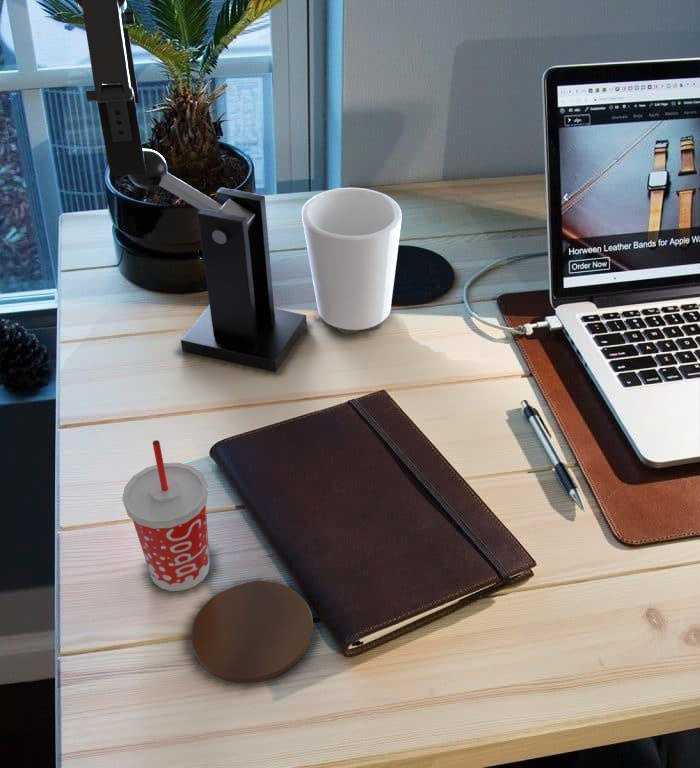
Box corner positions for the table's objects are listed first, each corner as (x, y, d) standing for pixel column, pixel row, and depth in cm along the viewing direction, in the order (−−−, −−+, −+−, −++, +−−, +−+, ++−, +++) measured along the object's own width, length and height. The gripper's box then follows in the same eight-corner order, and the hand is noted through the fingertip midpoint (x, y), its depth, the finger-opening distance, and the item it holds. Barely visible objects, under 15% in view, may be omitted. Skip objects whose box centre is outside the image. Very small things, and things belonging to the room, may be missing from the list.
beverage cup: (142, 606, 81) (112, 479, 72) (137, 547, 85) (109, 421, 76) (223, 590, 82) (204, 464, 73) (215, 533, 87) (195, 408, 78)
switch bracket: (182, 351, 104) (160, 215, 94) (217, 307, 110) (201, 174, 100) (276, 372, 103) (264, 236, 93) (306, 326, 109) (299, 193, 99)
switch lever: (114, 181, 96) (124, 152, 93) (134, 163, 98) (144, 135, 96) (232, 252, 98) (244, 225, 95) (248, 232, 100) (260, 206, 98)
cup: (351, 277, 116) (348, 176, 108) (419, 312, 112) (422, 210, 104) (287, 317, 110) (279, 213, 102) (357, 356, 106) (355, 250, 98)
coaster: (196, 694, 75) (195, 689, 75) (188, 596, 82) (188, 591, 81) (321, 669, 78) (321, 664, 77) (304, 576, 84) (304, 571, 84)
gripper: (142, -89, 67) (181, 203, 80) (129, -175, 85) (163, 74, 99) (15, -89, 65) (78, 211, 78) (30, -177, 83) (78, 78, 96)
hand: (125, 135), depth 88 cm, fingers open, 13 cm apart
